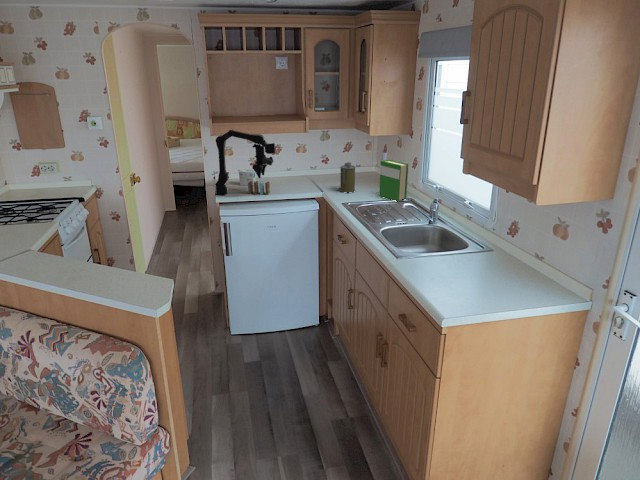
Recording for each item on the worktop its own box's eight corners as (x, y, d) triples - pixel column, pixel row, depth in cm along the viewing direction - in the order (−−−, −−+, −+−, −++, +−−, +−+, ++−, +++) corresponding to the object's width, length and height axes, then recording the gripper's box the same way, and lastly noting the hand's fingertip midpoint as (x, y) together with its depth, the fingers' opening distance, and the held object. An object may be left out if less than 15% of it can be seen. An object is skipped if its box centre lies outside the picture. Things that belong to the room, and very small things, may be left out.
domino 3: (265, 194, 314) (265, 183, 311) (267, 192, 319) (267, 181, 316) (268, 195, 314) (267, 183, 311) (269, 193, 318) (269, 181, 316)
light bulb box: (256, 183, 343) (255, 169, 339) (253, 185, 337) (253, 171, 333) (242, 183, 344) (240, 169, 340) (239, 185, 338) (238, 171, 334)
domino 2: (254, 194, 315) (253, 183, 312) (256, 192, 320) (255, 181, 317) (256, 194, 315) (256, 183, 312) (258, 192, 320) (258, 181, 317)
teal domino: (260, 194, 315) (259, 183, 312) (262, 192, 319) (261, 181, 316) (262, 194, 314) (261, 183, 312) (264, 192, 319) (263, 181, 316)
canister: (344, 188, 328) (344, 160, 321) (357, 190, 323) (358, 162, 316) (337, 192, 319) (337, 163, 312) (350, 194, 314) (350, 165, 307)
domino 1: (248, 194, 316) (248, 182, 313) (250, 192, 320) (250, 181, 318) (251, 194, 316) (250, 182, 313) (253, 192, 320) (252, 181, 317)
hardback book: (406, 200, 299) (408, 163, 291) (397, 202, 295) (400, 165, 287) (387, 194, 313) (388, 159, 304) (379, 196, 309) (380, 160, 300)
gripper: (268, 156, 297) (269, 180, 303) (275, 151, 314) (276, 174, 320) (251, 156, 299) (252, 179, 304) (259, 151, 316) (260, 173, 322)
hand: (261, 176), depth 313 cm, fingers open, 8 cm apart
